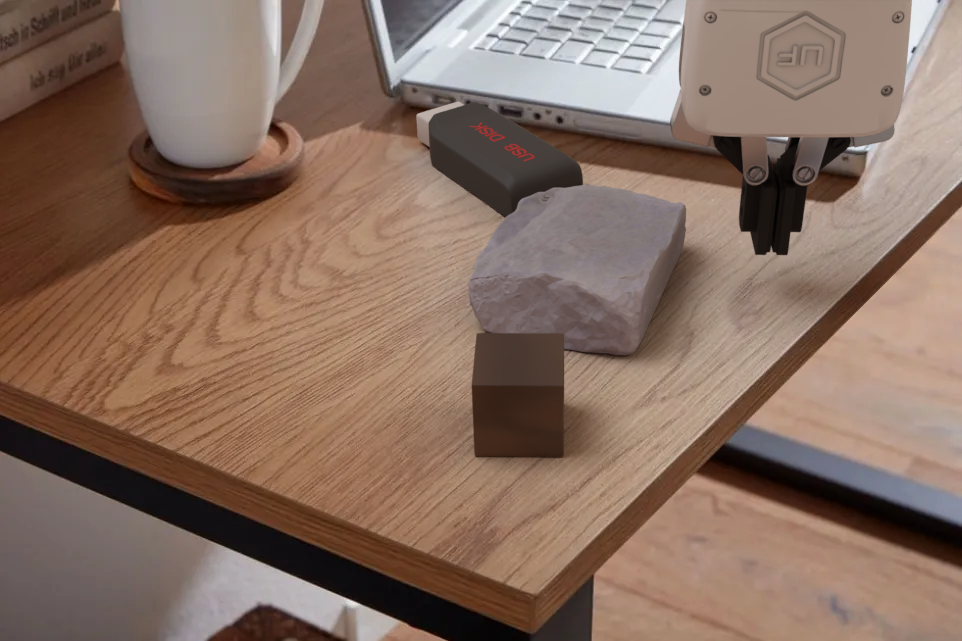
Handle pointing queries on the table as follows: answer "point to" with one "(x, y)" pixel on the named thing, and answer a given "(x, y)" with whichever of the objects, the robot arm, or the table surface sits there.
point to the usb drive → (493, 155)
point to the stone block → (579, 266)
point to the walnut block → (518, 394)
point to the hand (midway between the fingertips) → (767, 241)
